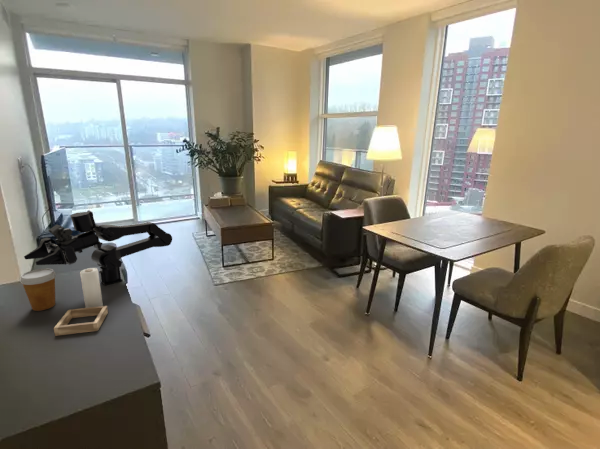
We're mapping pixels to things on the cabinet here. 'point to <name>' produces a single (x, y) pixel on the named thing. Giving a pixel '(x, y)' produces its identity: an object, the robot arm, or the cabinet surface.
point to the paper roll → (91, 287)
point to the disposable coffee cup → (40, 288)
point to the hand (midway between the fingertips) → (30, 260)
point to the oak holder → (82, 327)
